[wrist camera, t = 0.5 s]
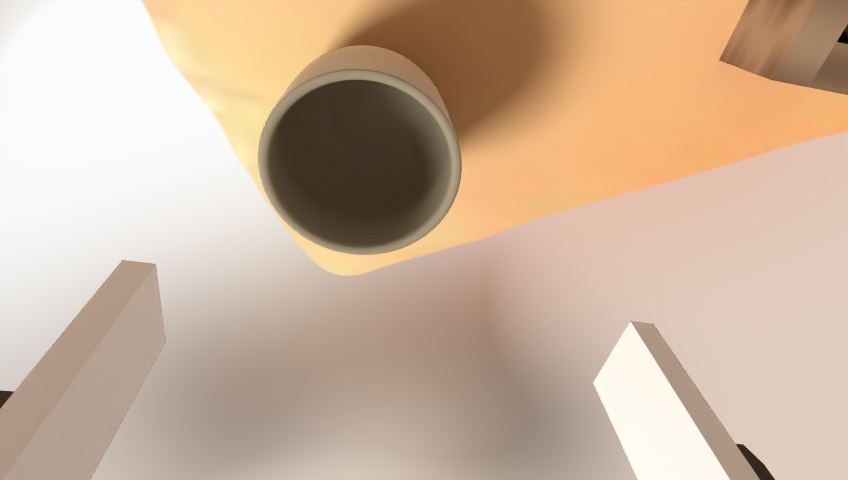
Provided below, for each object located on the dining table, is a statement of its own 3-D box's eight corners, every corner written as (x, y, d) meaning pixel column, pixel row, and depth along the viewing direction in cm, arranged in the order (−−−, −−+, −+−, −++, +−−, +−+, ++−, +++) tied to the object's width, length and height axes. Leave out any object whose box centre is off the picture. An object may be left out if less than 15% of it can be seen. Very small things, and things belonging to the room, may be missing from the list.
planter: (270, 44, 34) (227, 83, 25) (437, 23, 34) (455, 55, 25) (311, 192, 41) (289, 265, 32) (449, 175, 41) (467, 243, 32)
